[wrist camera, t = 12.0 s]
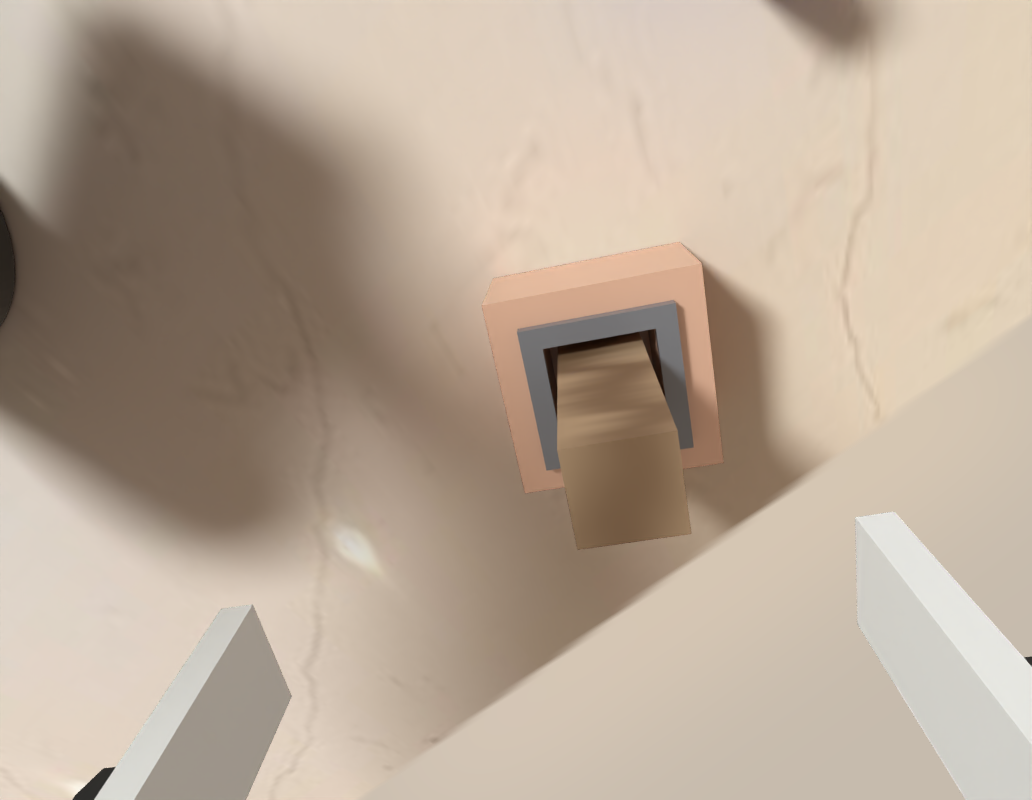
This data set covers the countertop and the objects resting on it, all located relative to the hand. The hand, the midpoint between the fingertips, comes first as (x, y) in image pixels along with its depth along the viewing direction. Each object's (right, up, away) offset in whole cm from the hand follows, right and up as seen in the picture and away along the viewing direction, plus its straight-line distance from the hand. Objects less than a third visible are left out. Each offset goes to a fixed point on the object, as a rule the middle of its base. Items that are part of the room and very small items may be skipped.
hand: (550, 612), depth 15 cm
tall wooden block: (+4, +7, +21) cm, 23 cm away
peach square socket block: (+4, +7, +23) cm, 25 cm away
